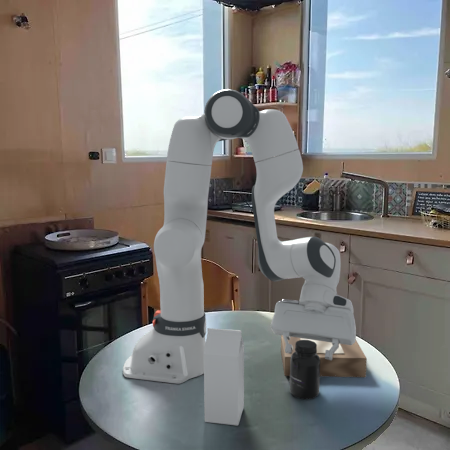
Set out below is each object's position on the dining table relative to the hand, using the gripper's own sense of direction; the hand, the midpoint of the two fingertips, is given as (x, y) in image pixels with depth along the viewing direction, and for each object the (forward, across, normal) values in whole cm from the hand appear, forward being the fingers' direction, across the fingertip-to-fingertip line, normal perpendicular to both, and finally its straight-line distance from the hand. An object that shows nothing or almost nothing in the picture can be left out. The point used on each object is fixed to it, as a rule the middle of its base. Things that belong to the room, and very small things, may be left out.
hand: (307, 355), depth 106 cm
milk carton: (+18, -14, -7) cm, 24 cm away
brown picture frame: (-4, 0, +16) cm, 16 cm away
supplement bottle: (+7, 0, +4) cm, 9 cm away
